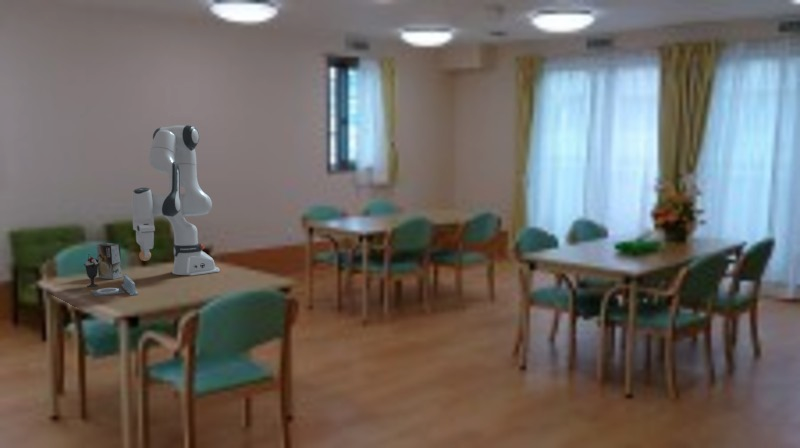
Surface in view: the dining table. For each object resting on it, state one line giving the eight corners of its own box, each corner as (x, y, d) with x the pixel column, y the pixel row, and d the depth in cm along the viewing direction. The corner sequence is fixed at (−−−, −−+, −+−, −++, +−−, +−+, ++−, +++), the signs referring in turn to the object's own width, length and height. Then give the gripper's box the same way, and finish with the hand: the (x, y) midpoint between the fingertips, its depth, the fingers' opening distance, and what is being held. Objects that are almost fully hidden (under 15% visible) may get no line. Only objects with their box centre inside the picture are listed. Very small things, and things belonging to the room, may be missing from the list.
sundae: (85, 288, 338) (83, 255, 337) (84, 285, 344) (82, 252, 342) (101, 286, 341) (99, 253, 340) (99, 284, 347) (98, 251, 345)
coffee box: (122, 277, 364) (121, 243, 362) (113, 279, 358) (111, 245, 356) (107, 275, 367) (105, 242, 365) (97, 278, 361) (96, 244, 359)
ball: (150, 259, 340) (149, 248, 339) (152, 261, 336) (151, 250, 335) (138, 260, 338) (137, 249, 337) (140, 262, 333) (140, 251, 333)
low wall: (128, 285, 345) (128, 274, 344) (137, 294, 326) (137, 283, 325) (121, 286, 343) (121, 275, 343) (130, 295, 324) (130, 283, 324)
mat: (120, 288, 338) (120, 286, 338) (124, 293, 328) (124, 291, 328) (91, 291, 332) (91, 289, 332) (95, 296, 322) (95, 294, 322)
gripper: (131, 222, 342) (133, 252, 344) (140, 228, 324) (142, 260, 326) (146, 221, 345) (147, 251, 347) (155, 227, 327) (157, 259, 329)
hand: (145, 256), depth 336 cm, fingers closed on ball, 5 cm apart
